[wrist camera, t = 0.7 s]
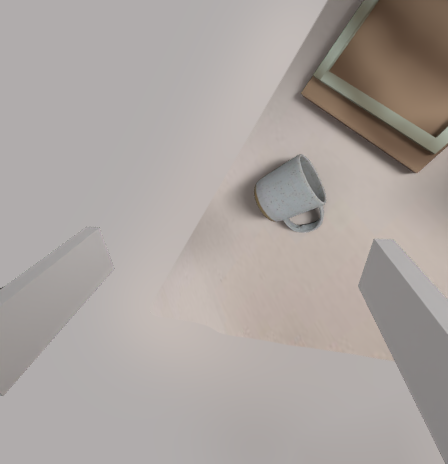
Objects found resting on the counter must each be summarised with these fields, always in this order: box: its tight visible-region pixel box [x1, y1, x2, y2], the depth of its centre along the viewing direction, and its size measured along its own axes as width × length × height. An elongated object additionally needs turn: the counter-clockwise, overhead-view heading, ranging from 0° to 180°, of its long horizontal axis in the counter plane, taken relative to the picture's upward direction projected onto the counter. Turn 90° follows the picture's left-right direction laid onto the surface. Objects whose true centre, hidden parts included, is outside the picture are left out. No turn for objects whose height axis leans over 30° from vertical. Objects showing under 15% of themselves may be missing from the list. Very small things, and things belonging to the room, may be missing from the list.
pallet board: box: [301, 0, 448, 173], centre depth 25 cm, size 20×18×2 cm
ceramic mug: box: [254, 154, 326, 232], centre depth 33 cm, size 11×8×8 cm
